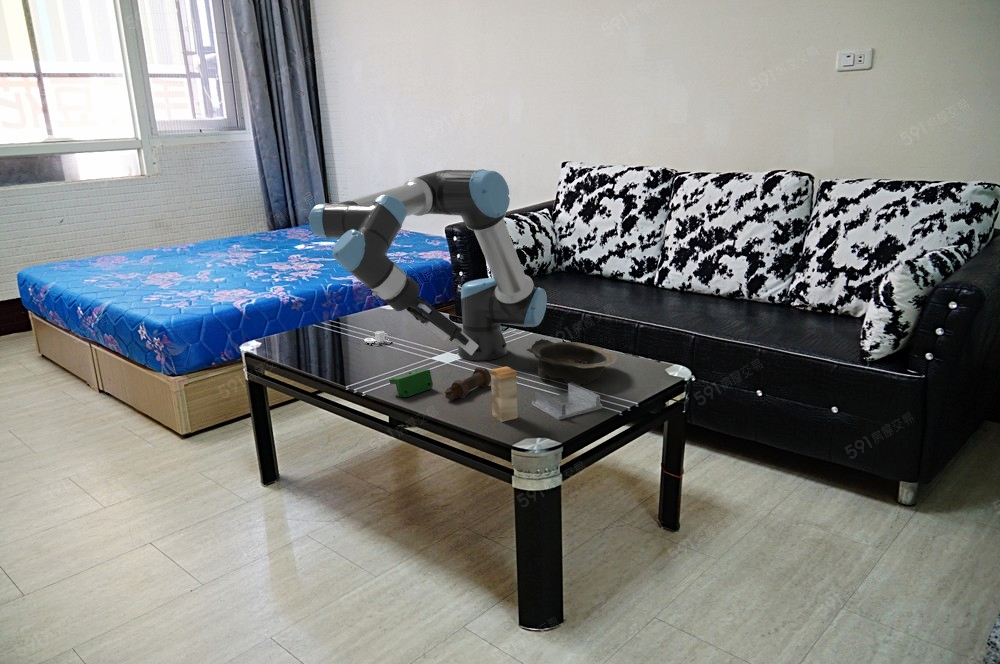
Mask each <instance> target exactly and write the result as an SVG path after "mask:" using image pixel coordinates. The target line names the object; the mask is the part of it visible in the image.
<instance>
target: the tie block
mask: <svg viewBox="0 0 1000 664" xmlns="http://www.w3.org/2000/svg"><path fill="white" fill-rule="evenodd" d="M490 375H491V382H490V383H491V384H490V386H491V387H490V388H491V411H492V415H491V416H492V417H493V418H495V419H497V420H498V421H500V422H502V423H503V422H506V421H507V422H508V421H510V420H515V419H518V417H519V416H518V415H519V414H518V392H517V389H518V388H517V387H518V385H517V384H518V383H517V378H518V377H517V370H515V369H513V368H512V367H510V366H502V367H497V368H493V369H490Z"/></svg>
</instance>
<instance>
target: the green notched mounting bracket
mask: <svg viewBox="0 0 1000 664" xmlns="http://www.w3.org/2000/svg"><path fill="white" fill-rule="evenodd" d="M388 380H389V382H388V383H389V384H390V385H395V387H396V392H397V395H398V396H399V397H400V396H401V397H400V398H408V397H412V396H414V395H417V394H420V393H423V392H426V391H428V390H431V389H432V388H433V387H434V382H433V378H432V375H431V369H416V370H413V371H409V372H408V374H407V375H399V376H394V377H390V378H388Z"/></svg>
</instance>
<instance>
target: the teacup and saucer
mask: <svg viewBox="0 0 1000 664" xmlns="http://www.w3.org/2000/svg"><path fill="white" fill-rule="evenodd" d="M385 335H386V338H385ZM374 336H375V338H373V337H366V338H364V340H363V341H364V343H365V342H367V343H372V342H374V341H377V342H383V341H384V339H388V338H389V337H388V333H386V332H385V331H384V330H377V331H375V332H374ZM377 342H376V343H377ZM385 342H387V341H386V340H385ZM367 343H366V344H367Z"/></svg>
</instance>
